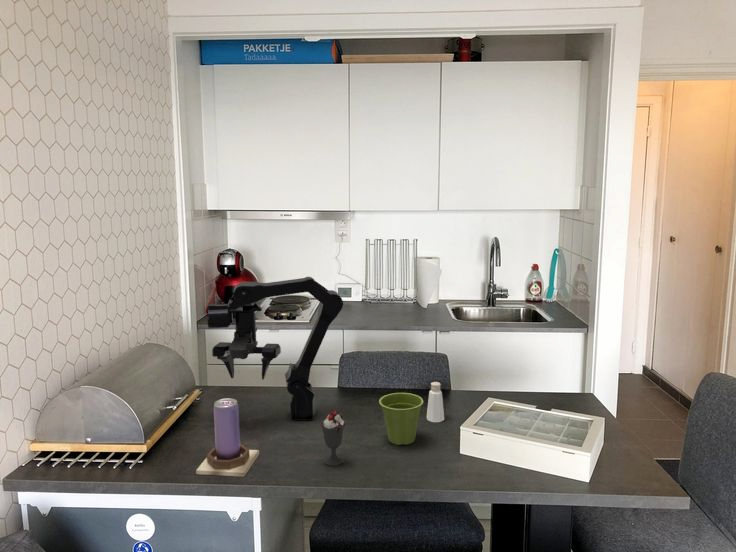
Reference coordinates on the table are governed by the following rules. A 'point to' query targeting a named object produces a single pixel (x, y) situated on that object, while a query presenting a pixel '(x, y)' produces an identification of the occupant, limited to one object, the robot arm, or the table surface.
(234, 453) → the beverage can
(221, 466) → the board
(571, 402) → the table surface
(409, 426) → the plant pot
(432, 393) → the salt shaker
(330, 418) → the sundae
